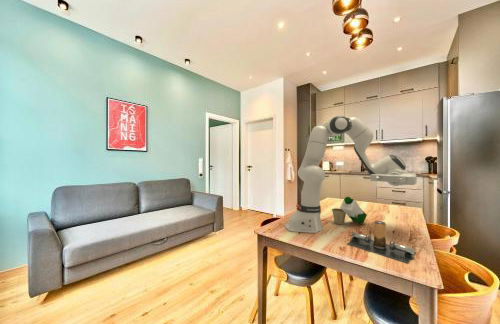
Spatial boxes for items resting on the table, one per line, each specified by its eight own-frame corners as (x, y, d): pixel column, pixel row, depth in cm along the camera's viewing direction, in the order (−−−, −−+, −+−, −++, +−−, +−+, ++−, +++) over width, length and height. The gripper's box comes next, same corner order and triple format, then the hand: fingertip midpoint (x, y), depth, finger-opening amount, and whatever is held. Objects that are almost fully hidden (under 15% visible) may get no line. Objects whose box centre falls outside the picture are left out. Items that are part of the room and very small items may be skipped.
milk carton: (368, 214, 129) (355, 197, 121) (364, 226, 126) (350, 209, 118) (355, 211, 136) (342, 195, 128) (351, 222, 133) (336, 206, 125)
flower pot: (344, 221, 135) (344, 208, 135) (349, 225, 125) (349, 212, 125) (329, 220, 136) (329, 208, 136) (334, 225, 127) (334, 211, 126)
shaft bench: (346, 244, 98) (346, 234, 98) (357, 236, 107) (357, 227, 107) (409, 264, 79) (409, 252, 78) (417, 253, 87) (417, 242, 87)
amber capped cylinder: (377, 250, 90) (377, 223, 90) (370, 244, 95) (370, 220, 95) (389, 249, 90) (389, 223, 90) (381, 244, 95) (381, 220, 95)
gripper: (374, 171, 117) (365, 172, 108) (419, 172, 101) (413, 174, 92) (374, 181, 117) (365, 183, 108) (419, 184, 101) (413, 187, 92)
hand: (387, 179), depth 100 cm, fingers open, 8 cm apart
